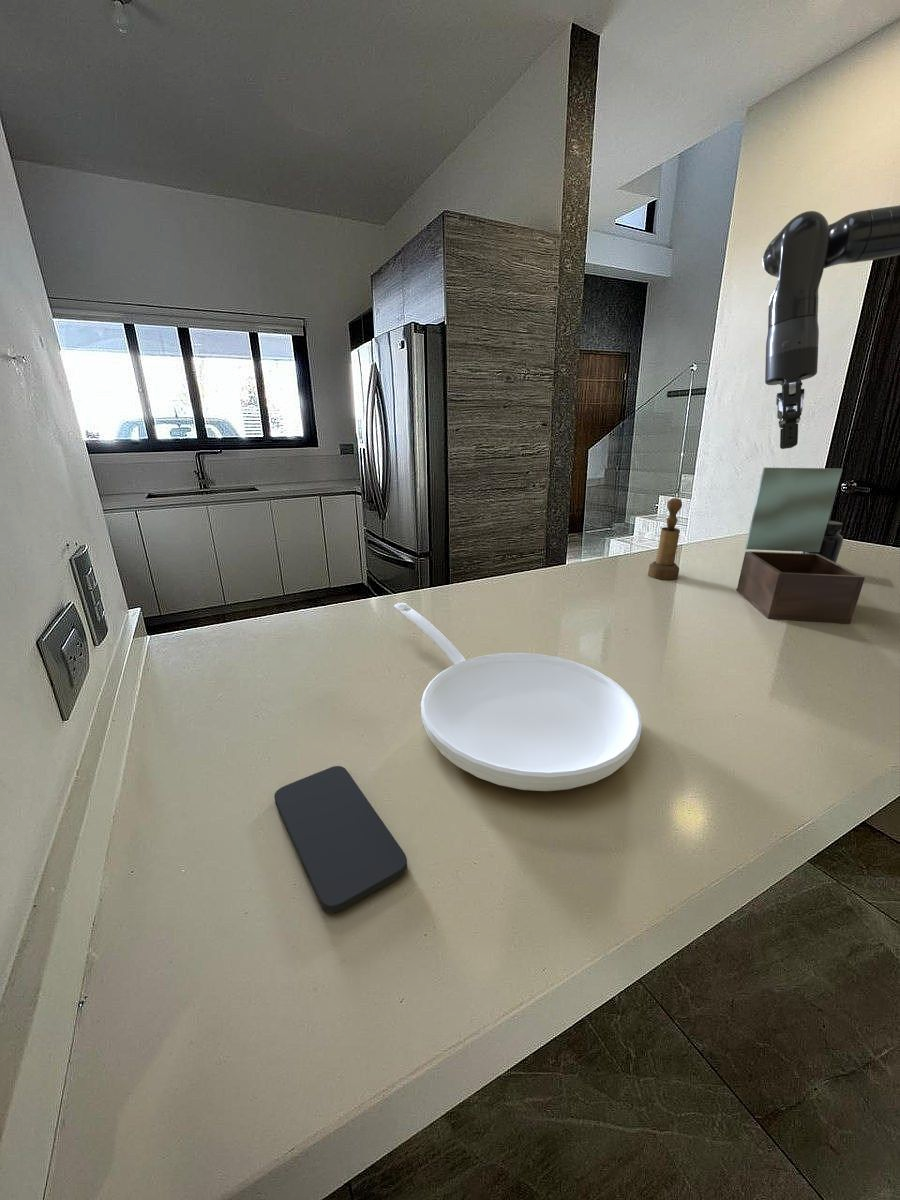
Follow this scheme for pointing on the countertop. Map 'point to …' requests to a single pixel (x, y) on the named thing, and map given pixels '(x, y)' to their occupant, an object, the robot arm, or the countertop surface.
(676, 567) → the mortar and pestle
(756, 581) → the case
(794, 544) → the glass lid
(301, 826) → the phone
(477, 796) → the countertop surface
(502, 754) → the pan
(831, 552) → the supplement bottle
